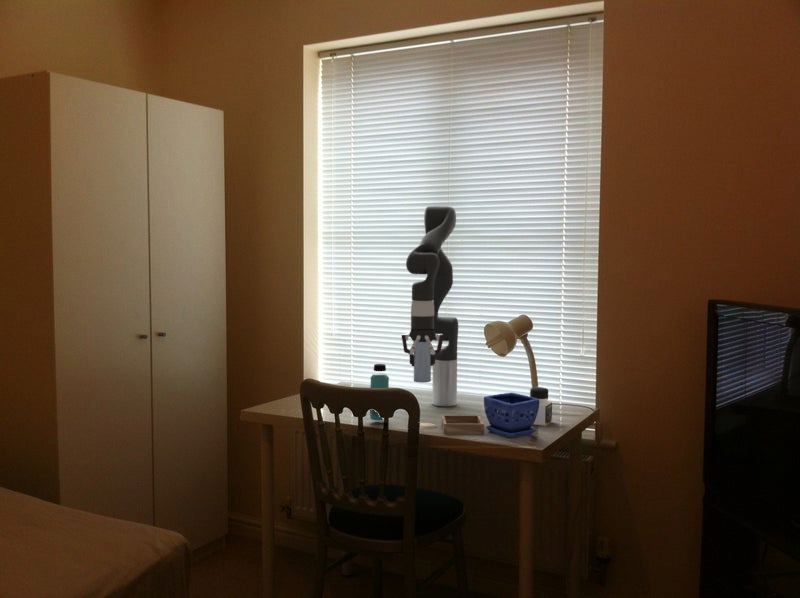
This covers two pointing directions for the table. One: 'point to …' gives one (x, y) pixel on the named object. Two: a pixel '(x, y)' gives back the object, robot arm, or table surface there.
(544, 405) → the medicine bottle
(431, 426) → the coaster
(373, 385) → the beverage bottle
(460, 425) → the tray
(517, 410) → the flower pot
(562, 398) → the table surface
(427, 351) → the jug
